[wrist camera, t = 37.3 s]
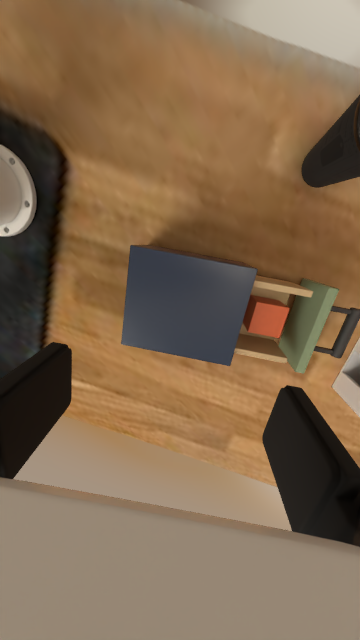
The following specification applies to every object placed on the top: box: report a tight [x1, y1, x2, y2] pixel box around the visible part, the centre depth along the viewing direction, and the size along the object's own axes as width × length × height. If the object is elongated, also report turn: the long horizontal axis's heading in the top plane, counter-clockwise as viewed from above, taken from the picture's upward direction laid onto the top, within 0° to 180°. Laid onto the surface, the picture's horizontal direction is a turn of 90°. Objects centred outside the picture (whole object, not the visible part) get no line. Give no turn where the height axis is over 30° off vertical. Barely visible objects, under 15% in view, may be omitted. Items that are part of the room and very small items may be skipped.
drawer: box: [234, 275, 360, 373], centre depth 32 cm, size 19×12×7 cm, turn 80°
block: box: [243, 295, 290, 338], centre depth 32 cm, size 4×4×4 cm
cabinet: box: [121, 245, 258, 366], centre depth 32 cm, size 15×13×9 cm
